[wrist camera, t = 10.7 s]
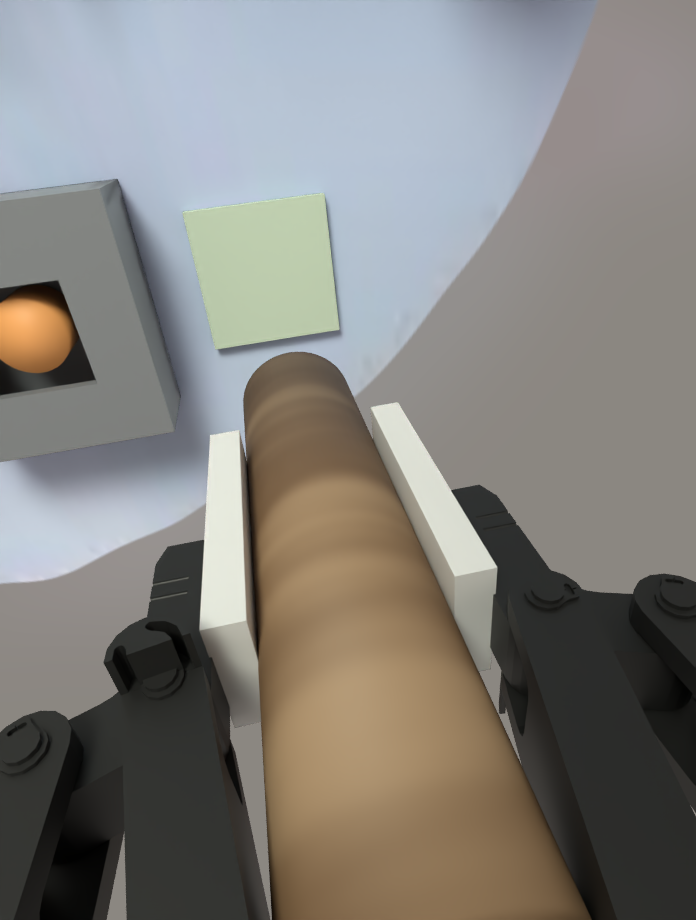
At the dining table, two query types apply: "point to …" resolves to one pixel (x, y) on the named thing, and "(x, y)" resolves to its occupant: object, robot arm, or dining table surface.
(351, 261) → the dining table surface
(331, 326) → the mat
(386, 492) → the walnut dowel
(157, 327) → the grey square holder
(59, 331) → the button
